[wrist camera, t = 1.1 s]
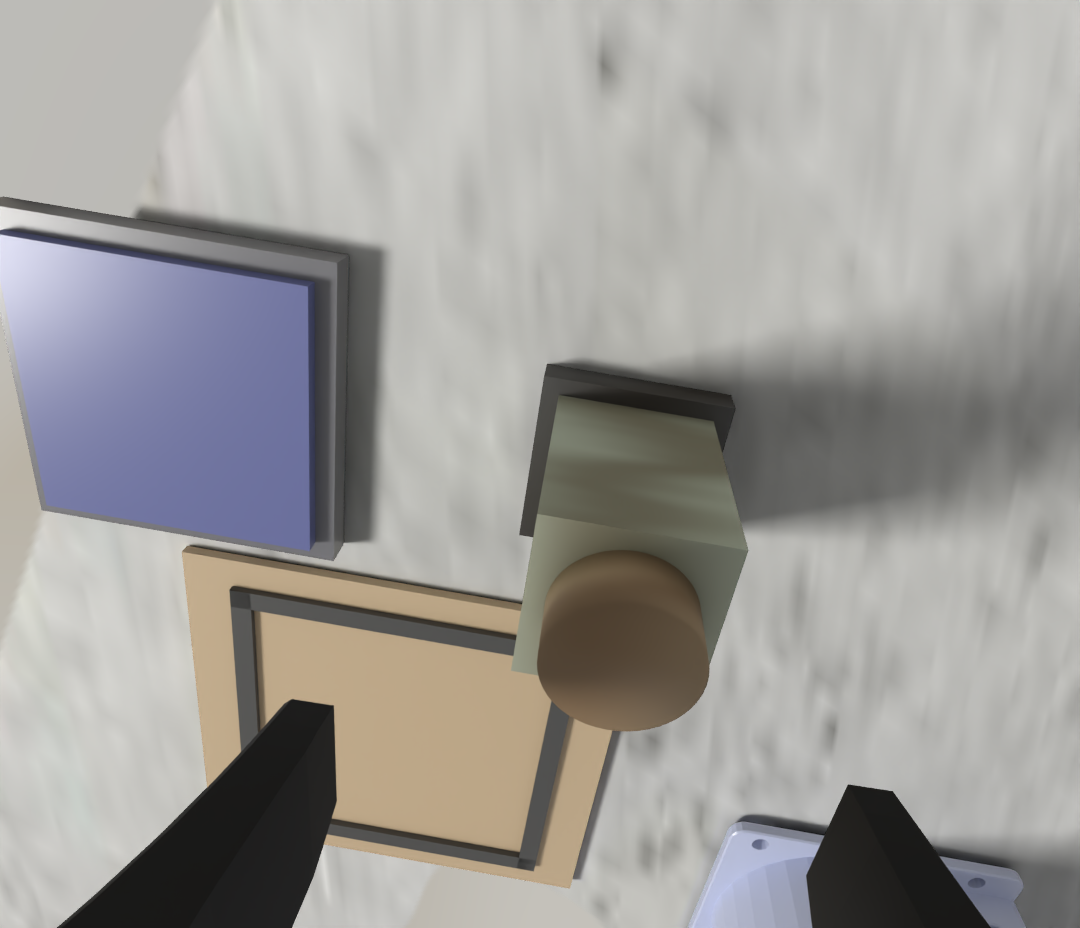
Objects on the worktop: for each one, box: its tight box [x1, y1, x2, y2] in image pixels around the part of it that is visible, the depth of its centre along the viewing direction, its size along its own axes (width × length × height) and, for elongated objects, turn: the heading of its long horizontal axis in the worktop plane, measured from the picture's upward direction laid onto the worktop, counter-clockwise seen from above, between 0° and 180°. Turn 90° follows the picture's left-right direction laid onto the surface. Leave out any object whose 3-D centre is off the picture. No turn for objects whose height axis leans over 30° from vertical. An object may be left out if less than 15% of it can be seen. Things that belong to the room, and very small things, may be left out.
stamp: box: [511, 364, 748, 731], centre depth 15 cm, size 4×4×7 cm
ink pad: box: [0, 197, 349, 561], centre depth 18 cm, size 8×8×1 cm
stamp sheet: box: [182, 546, 612, 888], centre depth 24 cm, size 13×12×1 cm
